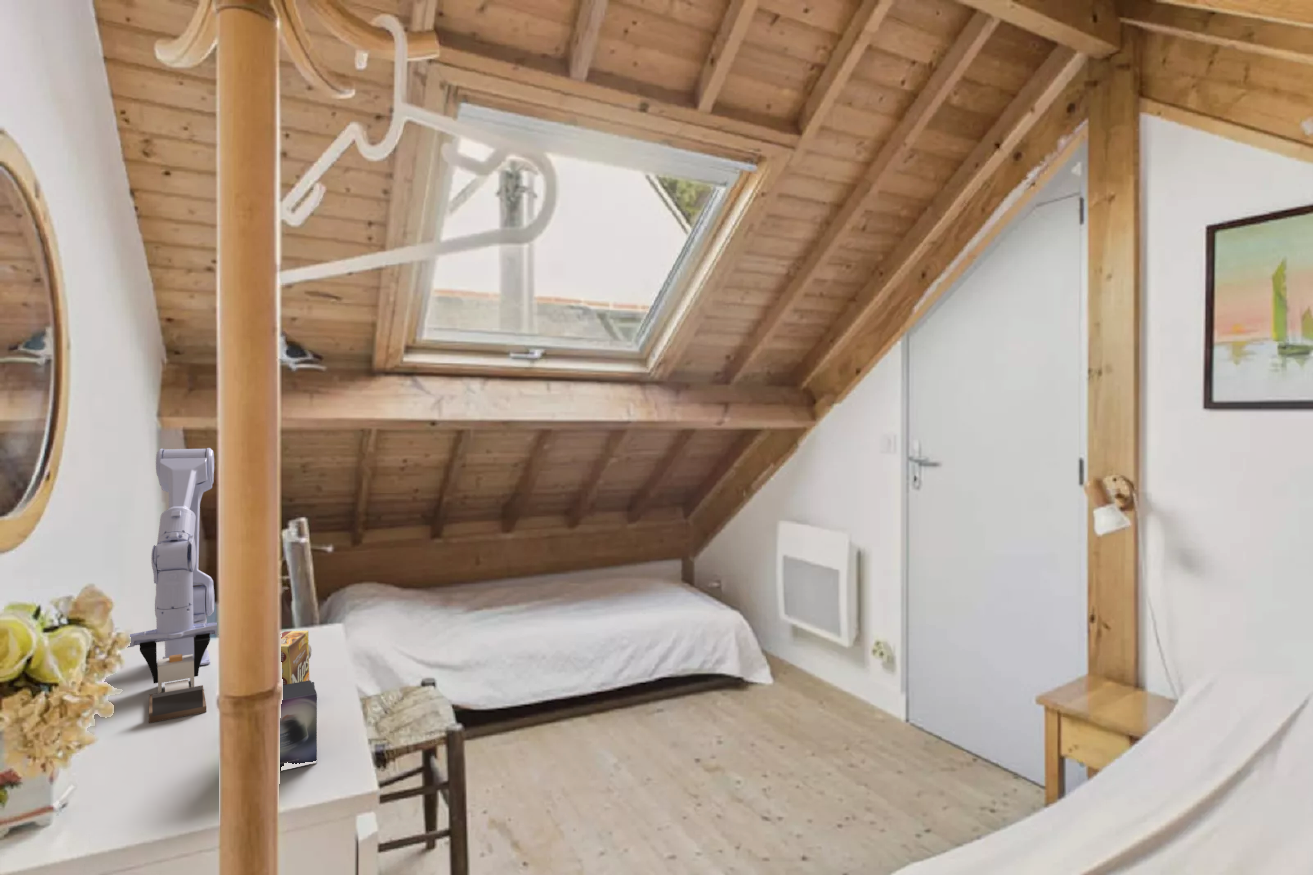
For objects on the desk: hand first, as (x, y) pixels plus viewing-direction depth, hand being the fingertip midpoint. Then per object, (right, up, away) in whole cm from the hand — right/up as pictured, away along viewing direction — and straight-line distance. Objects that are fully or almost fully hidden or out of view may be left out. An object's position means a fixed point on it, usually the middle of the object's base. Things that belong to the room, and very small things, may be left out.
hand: (176, 678), depth 134 cm
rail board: (+6, -2, -9) cm, 11 cm away
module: (0, -2, 0) cm, 2 cm away
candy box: (+31, -2, -21) cm, 38 cm away
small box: (+35, -2, -31) cm, 46 cm away
